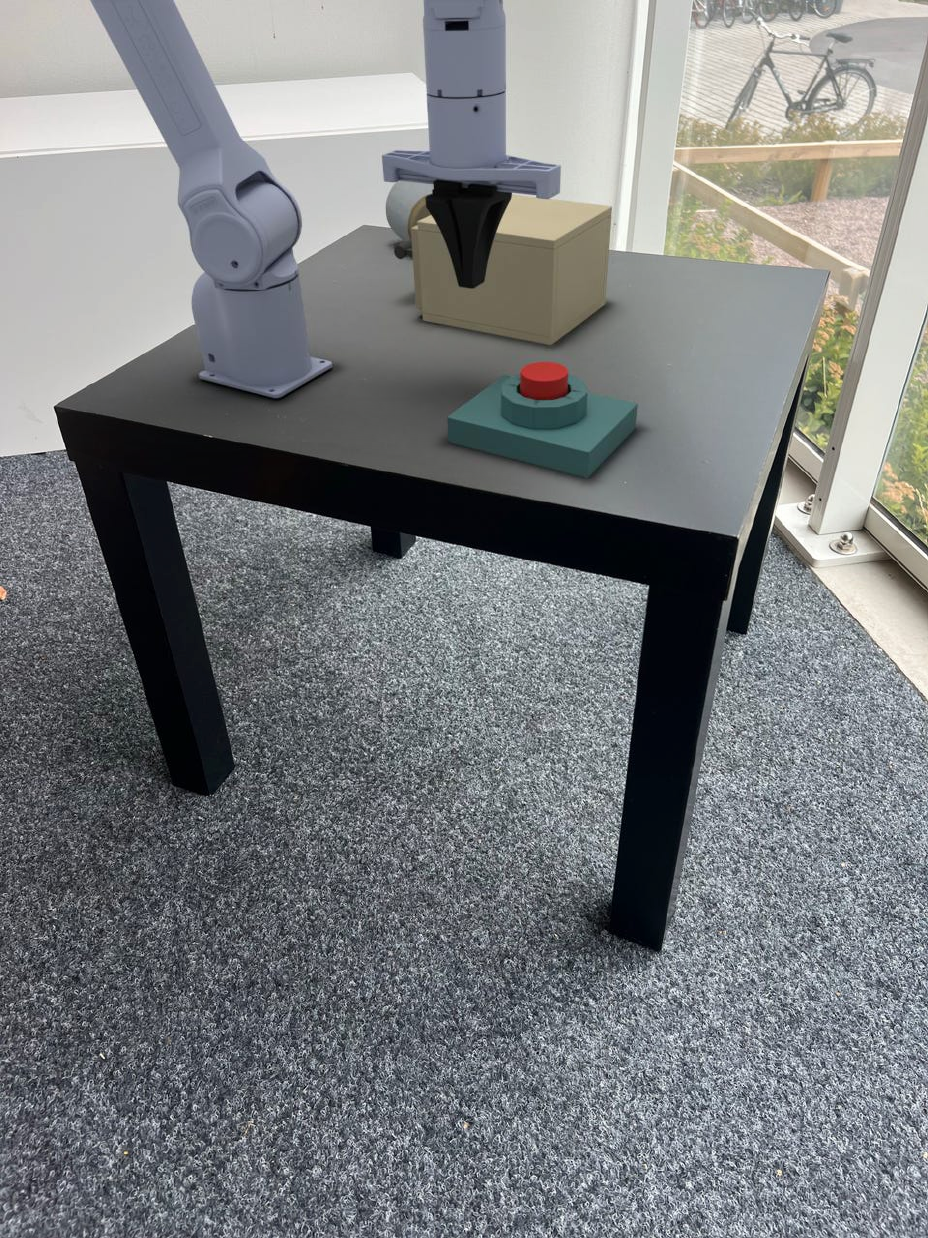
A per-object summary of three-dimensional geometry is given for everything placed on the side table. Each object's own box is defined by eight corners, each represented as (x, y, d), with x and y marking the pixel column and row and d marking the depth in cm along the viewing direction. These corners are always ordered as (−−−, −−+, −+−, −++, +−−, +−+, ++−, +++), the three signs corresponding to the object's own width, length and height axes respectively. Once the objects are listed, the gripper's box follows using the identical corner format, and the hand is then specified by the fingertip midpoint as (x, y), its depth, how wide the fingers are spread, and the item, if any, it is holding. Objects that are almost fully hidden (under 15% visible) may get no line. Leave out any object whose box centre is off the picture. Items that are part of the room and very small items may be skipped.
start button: (511, 396, 67) (511, 375, 66) (533, 379, 70) (534, 358, 68) (554, 406, 66) (555, 384, 65) (575, 388, 68) (576, 366, 67)
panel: (448, 442, 69) (445, 394, 67) (503, 398, 75) (503, 353, 73) (587, 479, 64) (590, 428, 62) (635, 428, 70) (640, 381, 68)
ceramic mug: (410, 261, 105) (406, 191, 101) (386, 243, 111) (382, 176, 107) (490, 249, 109) (490, 181, 104) (463, 232, 115) (462, 167, 110)
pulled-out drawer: (382, 301, 92) (375, 222, 87) (440, 270, 100) (437, 195, 95) (532, 330, 85) (534, 245, 80) (583, 294, 92) (587, 214, 87)
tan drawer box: (422, 320, 90) (416, 220, 84) (484, 283, 98) (483, 190, 92) (550, 345, 84) (554, 240, 78) (605, 304, 92) (612, 205, 86)
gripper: (581, 87, 63) (573, 281, 72) (412, 79, 69) (423, 258, 78) (537, 104, 59) (533, 309, 67) (359, 93, 65) (377, 282, 73)
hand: (471, 284), depth 72 cm, fingers closed
